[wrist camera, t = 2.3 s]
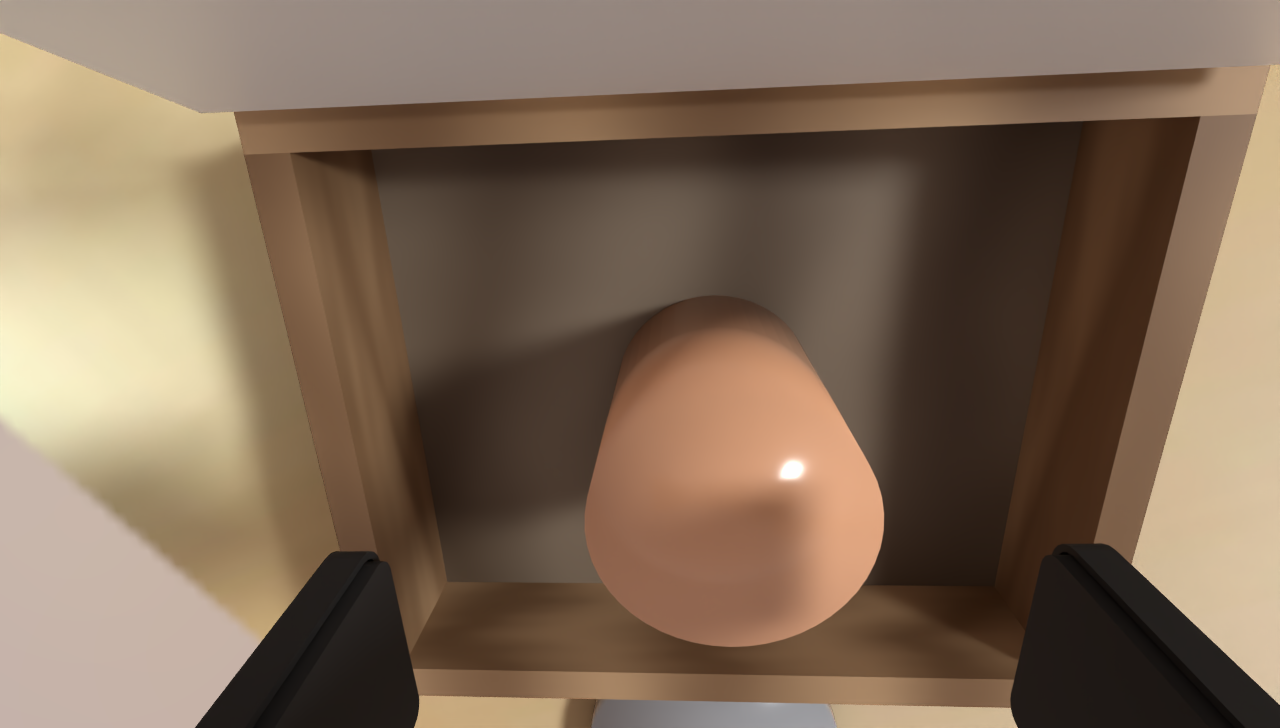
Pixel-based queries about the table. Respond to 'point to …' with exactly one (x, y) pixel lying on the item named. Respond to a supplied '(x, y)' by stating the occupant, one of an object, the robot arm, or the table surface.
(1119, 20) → the lid
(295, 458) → the table surface
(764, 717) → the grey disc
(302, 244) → the wooden box
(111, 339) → the table surface
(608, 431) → the peach rounded knob
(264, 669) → the robot arm
